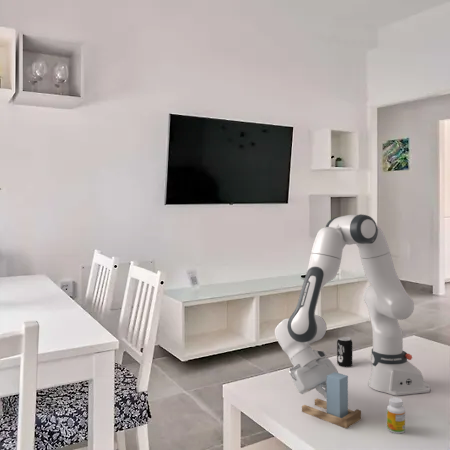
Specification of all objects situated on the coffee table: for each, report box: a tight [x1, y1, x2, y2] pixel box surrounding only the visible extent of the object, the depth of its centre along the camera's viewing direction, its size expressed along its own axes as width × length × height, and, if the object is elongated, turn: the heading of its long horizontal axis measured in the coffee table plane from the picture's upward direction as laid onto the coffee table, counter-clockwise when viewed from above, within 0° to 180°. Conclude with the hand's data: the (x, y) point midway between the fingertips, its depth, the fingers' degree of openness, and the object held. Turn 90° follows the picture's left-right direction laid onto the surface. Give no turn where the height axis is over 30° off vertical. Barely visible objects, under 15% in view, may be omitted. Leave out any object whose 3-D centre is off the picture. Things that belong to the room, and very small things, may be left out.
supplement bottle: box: [386, 396, 406, 435], centre depth 148 cm, size 5×5×10 cm
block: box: [326, 372, 349, 418], centre depth 157 cm, size 5×5×14 cm
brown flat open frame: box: [301, 397, 362, 429], centre depth 159 cm, size 18×9×3 cm, turn 44°
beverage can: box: [336, 336, 353, 368], centre depth 208 cm, size 7×7×12 cm
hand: (329, 396), depth 160 cm, fingers closed, pressing on block
